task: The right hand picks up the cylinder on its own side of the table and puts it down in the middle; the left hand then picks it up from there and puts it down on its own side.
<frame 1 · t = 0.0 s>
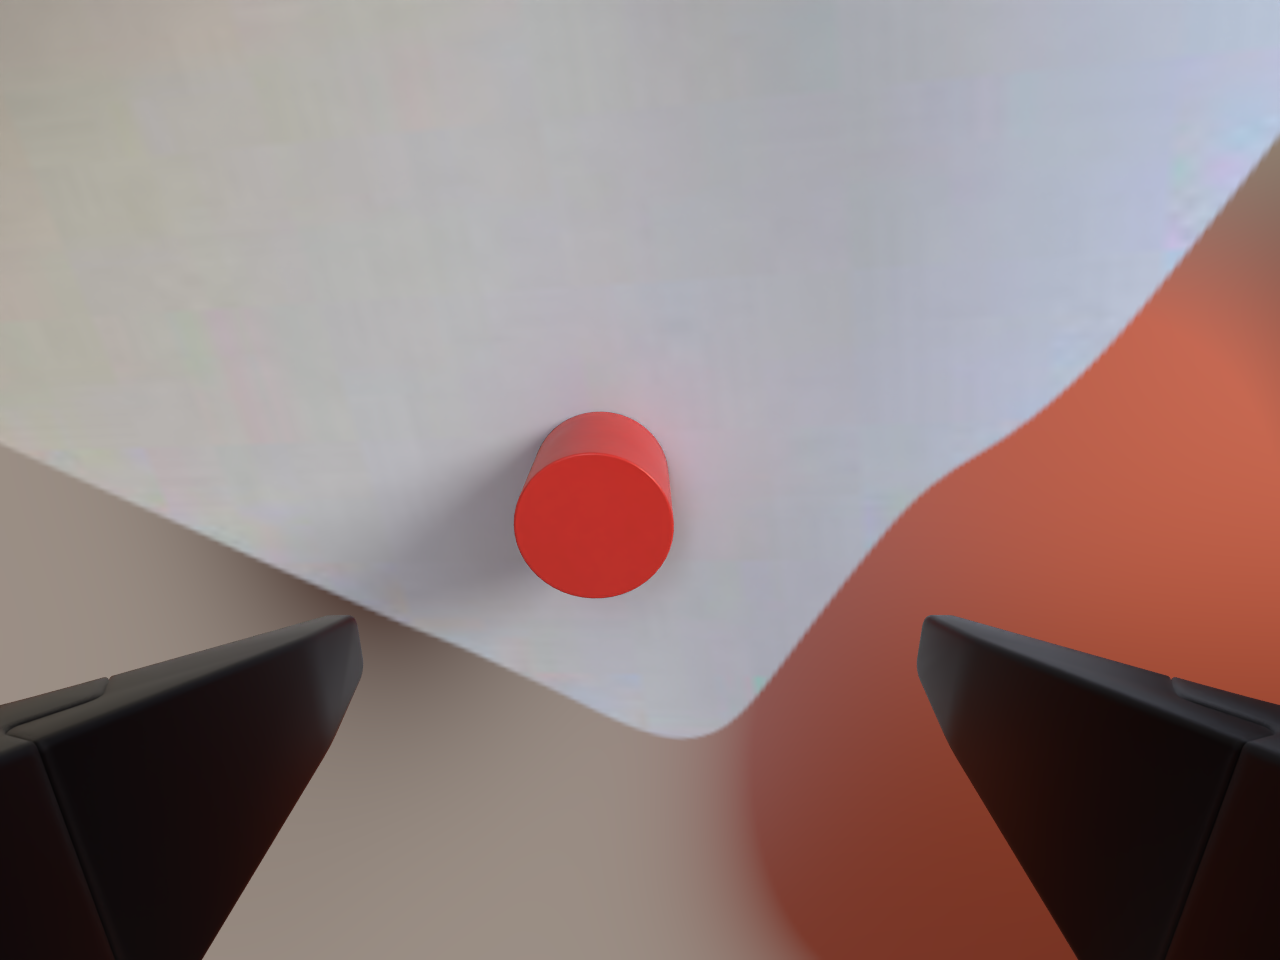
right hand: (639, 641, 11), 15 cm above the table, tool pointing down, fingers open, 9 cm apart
cylinder: (601, 476, 26), on the table
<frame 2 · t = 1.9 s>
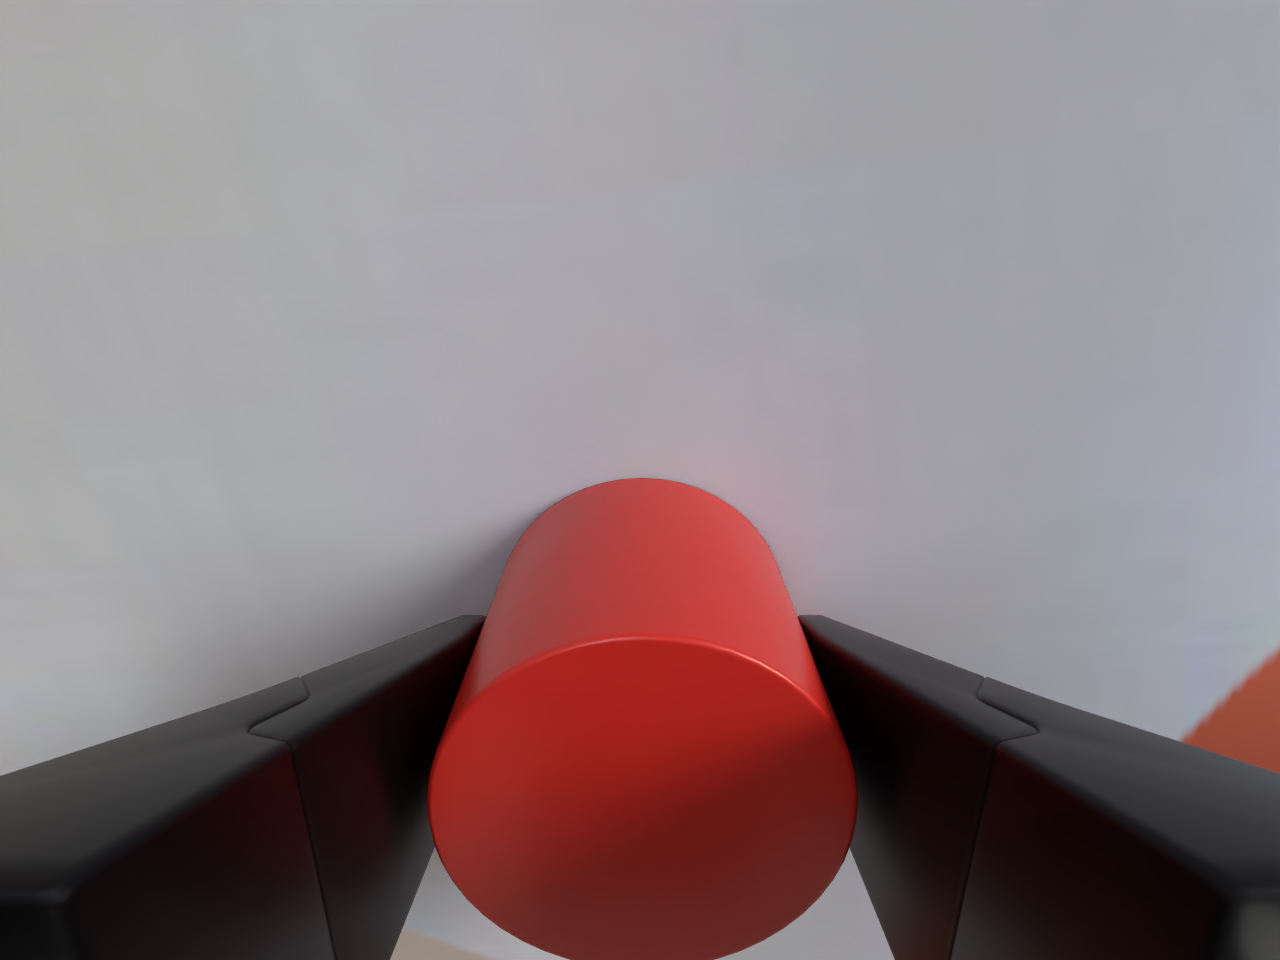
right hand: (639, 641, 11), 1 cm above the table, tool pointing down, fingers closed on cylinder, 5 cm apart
cylinder: (641, 608, 12), on the table, touching right hand
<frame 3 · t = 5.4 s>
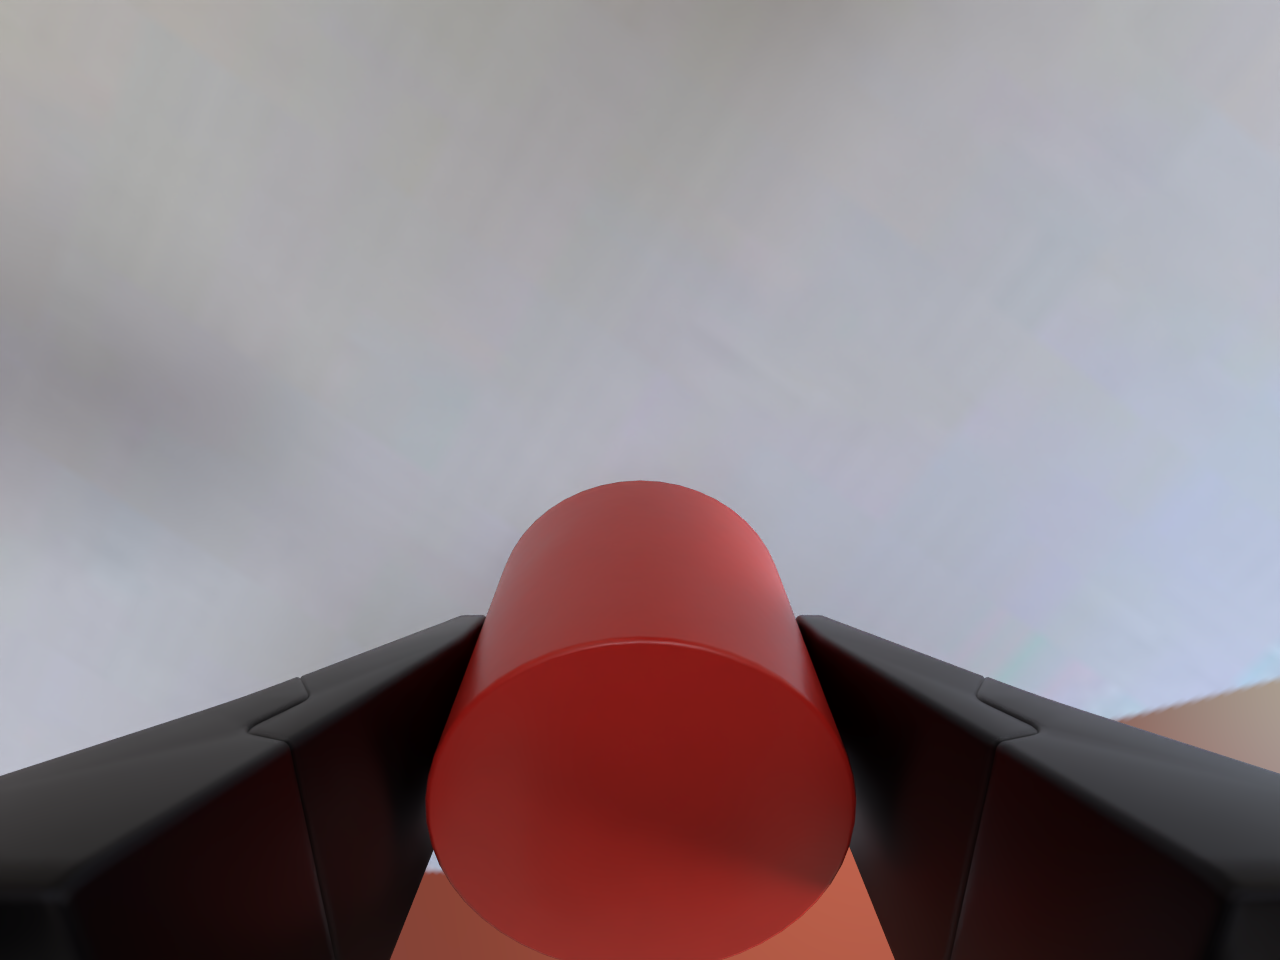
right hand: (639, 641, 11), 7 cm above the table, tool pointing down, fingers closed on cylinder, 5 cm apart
cylinder: (640, 611, 12), point 6 cm above the table, touching right hand
when the right hand's fingers open (2 cm above the table, at t = 9.3 s): cylinder stays where it is, on the table.
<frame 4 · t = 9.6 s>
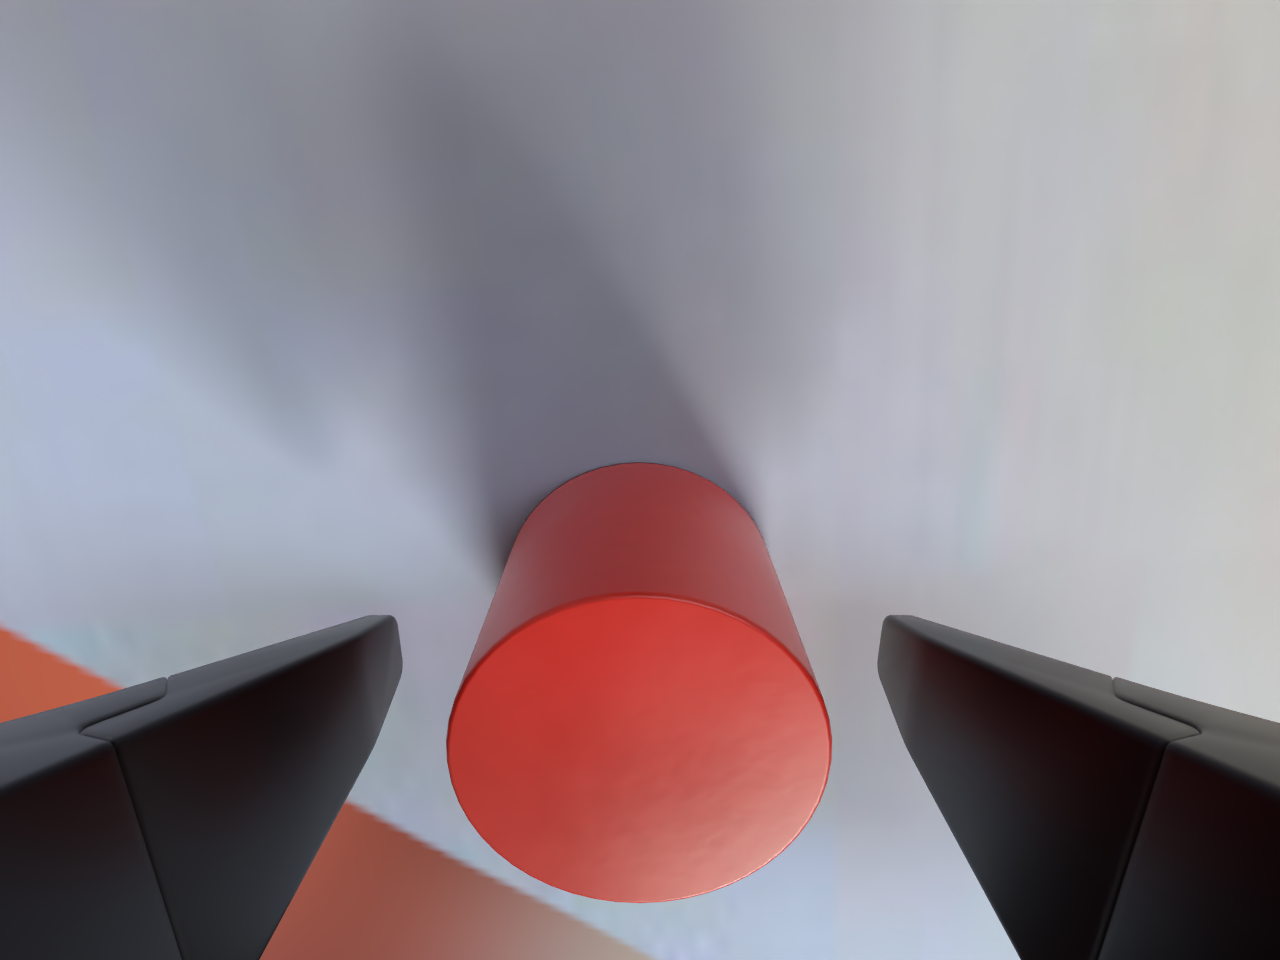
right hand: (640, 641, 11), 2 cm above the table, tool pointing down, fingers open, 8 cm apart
cylinder: (639, 585, 13), on the table
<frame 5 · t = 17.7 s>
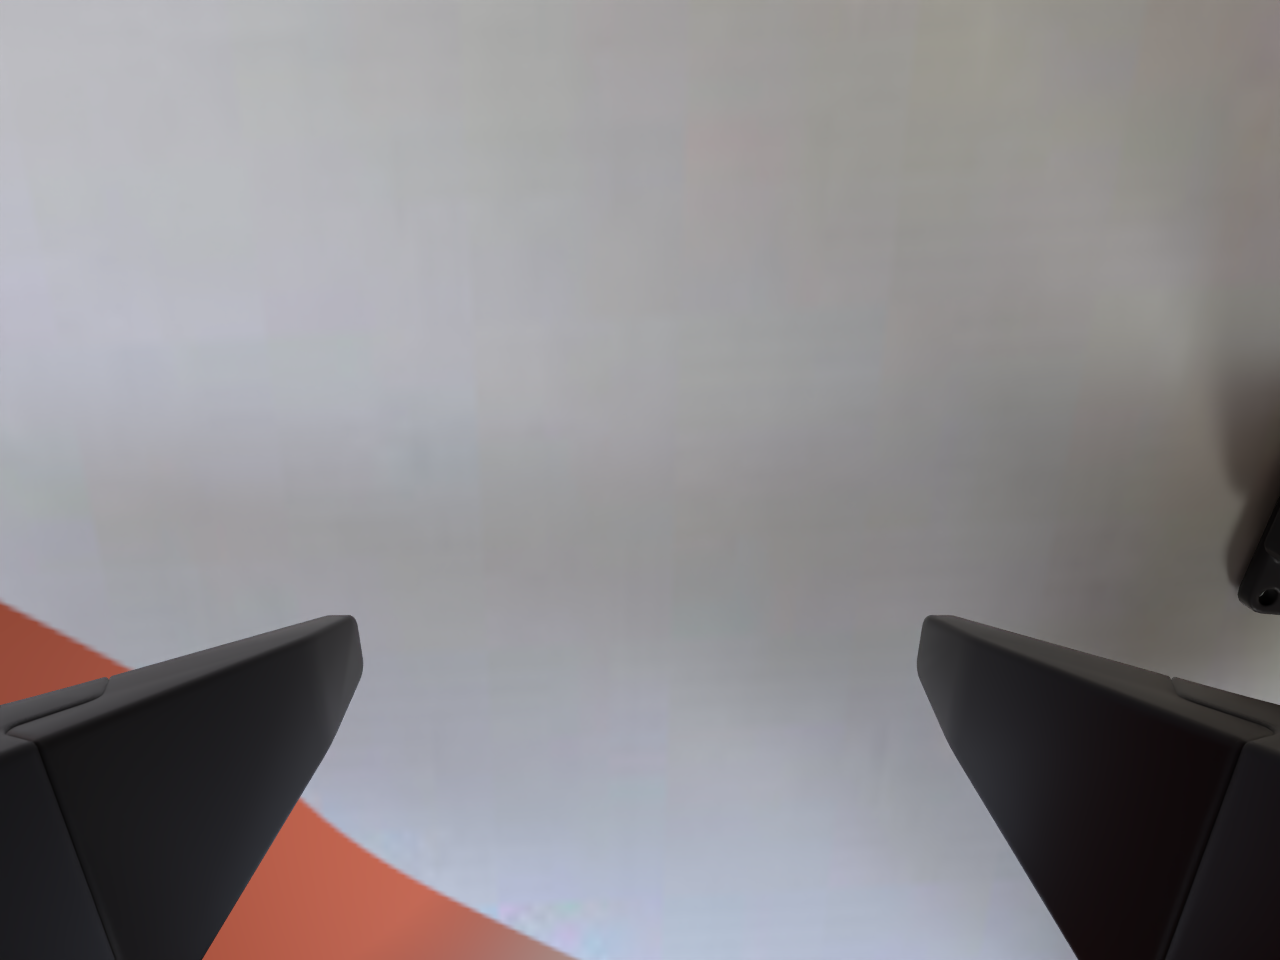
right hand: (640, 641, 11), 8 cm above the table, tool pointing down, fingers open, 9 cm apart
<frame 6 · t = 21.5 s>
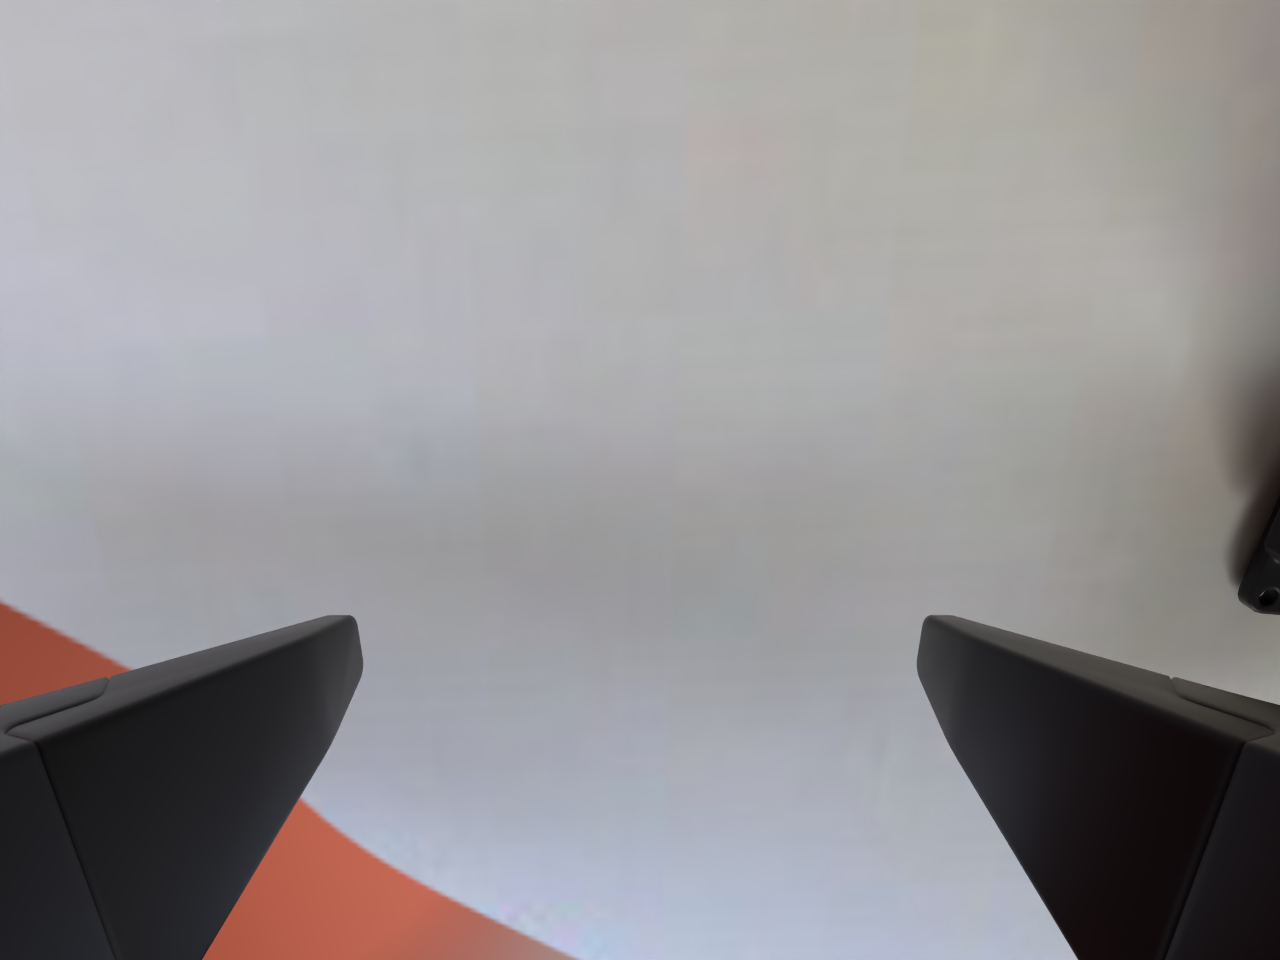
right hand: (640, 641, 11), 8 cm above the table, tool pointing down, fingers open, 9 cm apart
when the left hand's fingers open (1 cm above the table, at t = 25.5 s): cylinder stays where it is, on the table.
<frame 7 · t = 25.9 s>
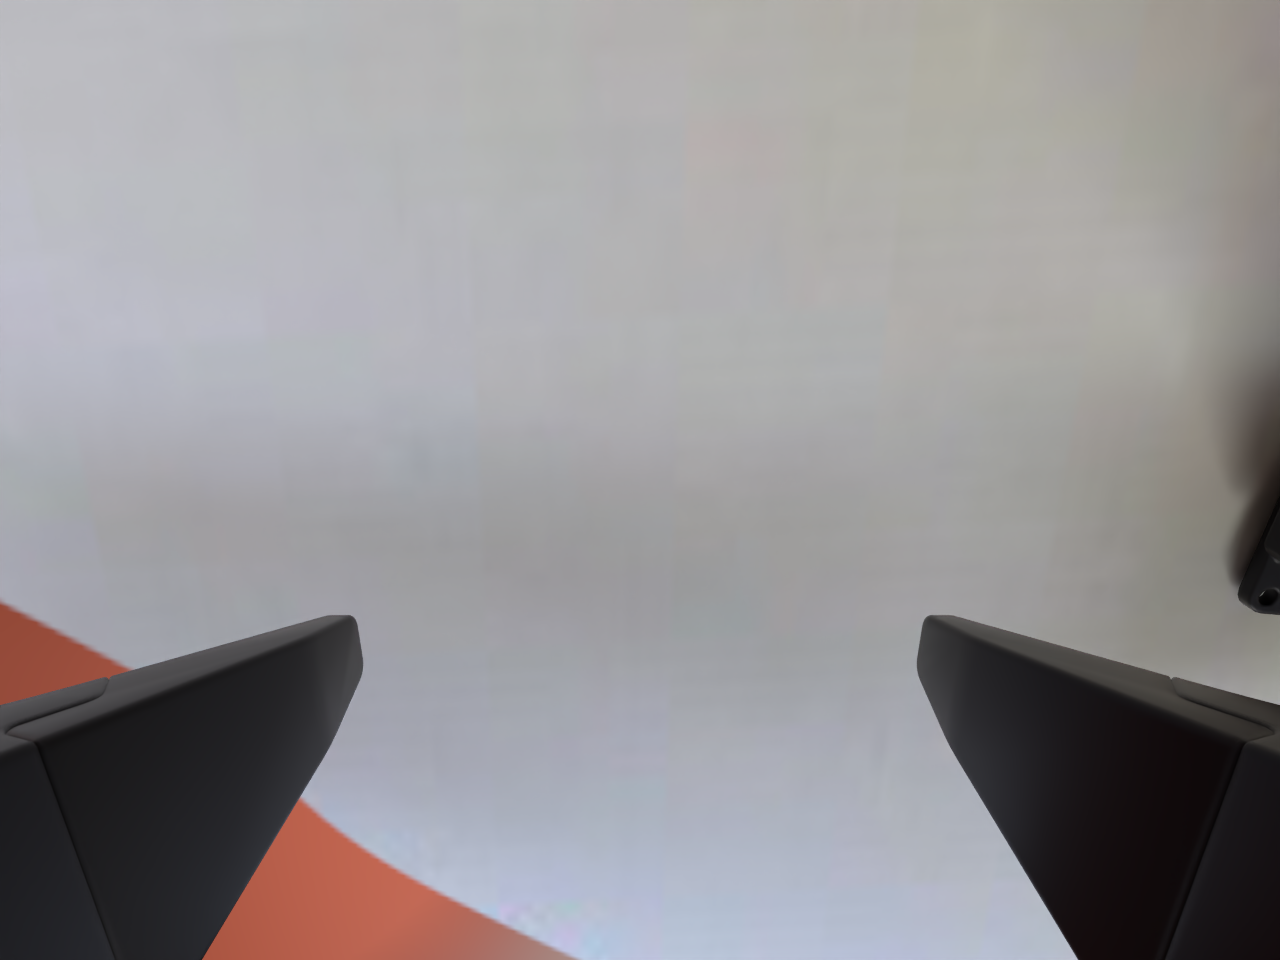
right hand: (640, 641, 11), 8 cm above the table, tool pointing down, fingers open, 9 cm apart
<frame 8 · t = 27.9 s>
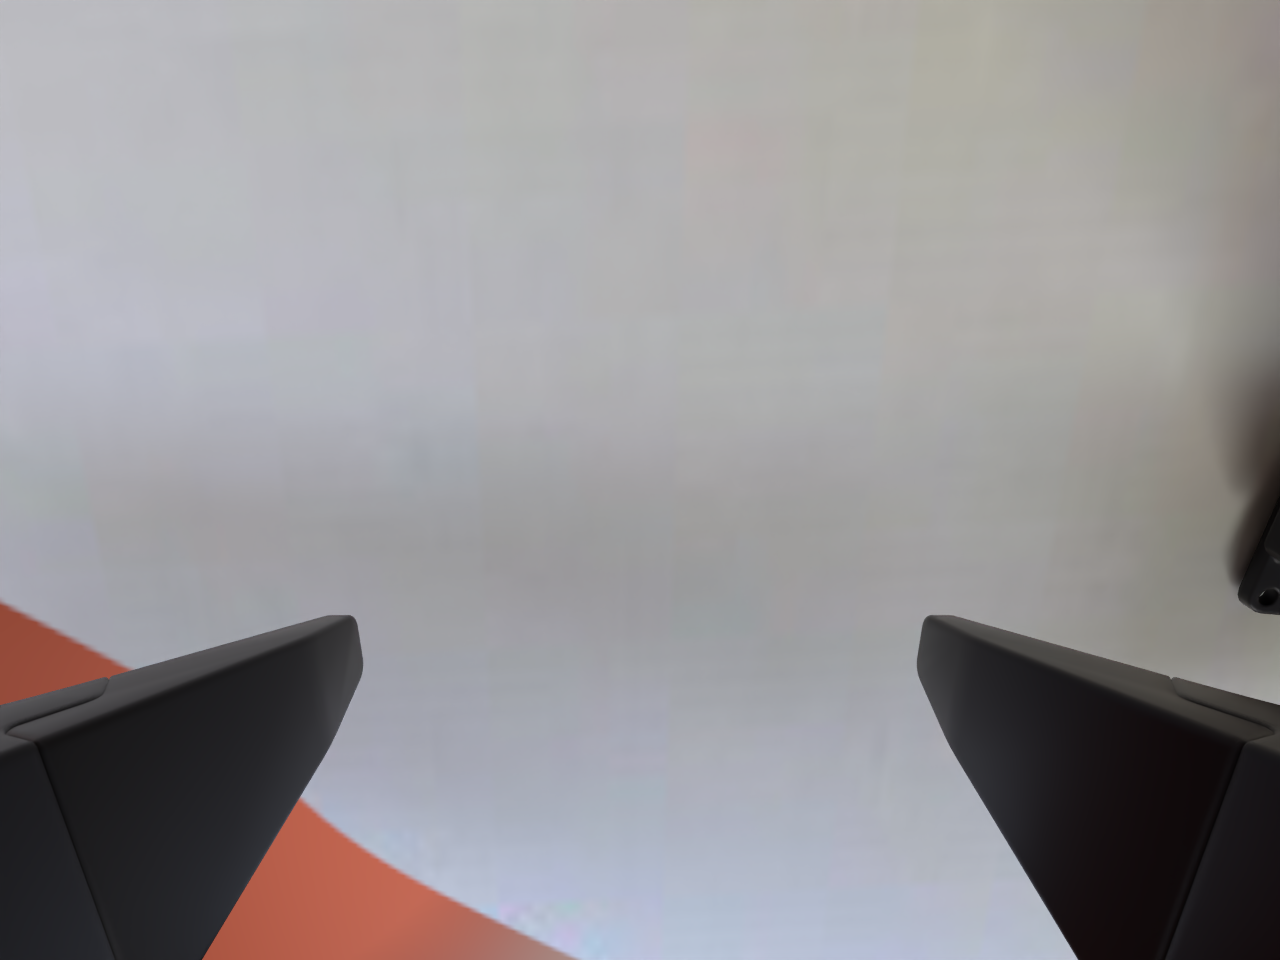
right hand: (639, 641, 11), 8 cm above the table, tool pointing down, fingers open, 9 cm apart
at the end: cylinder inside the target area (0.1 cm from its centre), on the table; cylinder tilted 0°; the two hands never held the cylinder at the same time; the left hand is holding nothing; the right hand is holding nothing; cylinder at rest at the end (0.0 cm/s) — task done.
